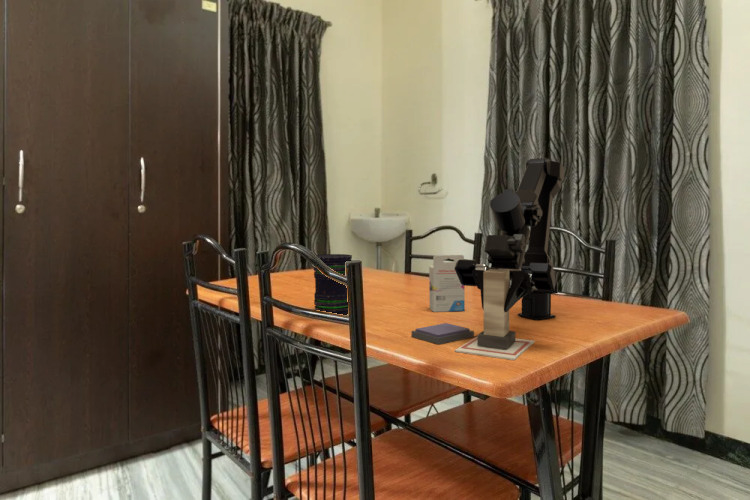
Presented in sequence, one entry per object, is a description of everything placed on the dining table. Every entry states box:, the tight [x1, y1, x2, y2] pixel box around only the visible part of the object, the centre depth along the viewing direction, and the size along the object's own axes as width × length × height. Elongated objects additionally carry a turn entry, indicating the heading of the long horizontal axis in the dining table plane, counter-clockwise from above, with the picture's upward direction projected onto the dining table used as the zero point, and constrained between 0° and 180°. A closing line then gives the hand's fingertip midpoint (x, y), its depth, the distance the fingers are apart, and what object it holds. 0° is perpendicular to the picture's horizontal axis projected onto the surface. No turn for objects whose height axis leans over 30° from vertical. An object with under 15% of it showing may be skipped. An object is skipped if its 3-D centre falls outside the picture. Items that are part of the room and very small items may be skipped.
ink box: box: [428, 254, 466, 313], centre depth 133 cm, size 8×5×15 cm, turn 96°
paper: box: [454, 336, 535, 361], centre depth 96 cm, size 14×11×1 cm
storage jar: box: [313, 253, 353, 315], centre depth 129 cm, size 10×10×15 cm
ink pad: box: [411, 322, 475, 346], centre depth 104 cm, size 10×8×2 cm
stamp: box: [476, 269, 516, 349], centre depth 96 cm, size 6×6×14 cm
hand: (494, 309), depth 94 cm, fingers closed on stamp, 4 cm apart
